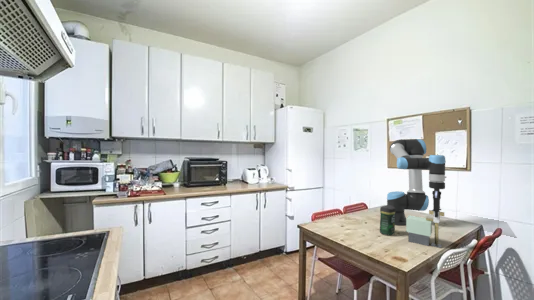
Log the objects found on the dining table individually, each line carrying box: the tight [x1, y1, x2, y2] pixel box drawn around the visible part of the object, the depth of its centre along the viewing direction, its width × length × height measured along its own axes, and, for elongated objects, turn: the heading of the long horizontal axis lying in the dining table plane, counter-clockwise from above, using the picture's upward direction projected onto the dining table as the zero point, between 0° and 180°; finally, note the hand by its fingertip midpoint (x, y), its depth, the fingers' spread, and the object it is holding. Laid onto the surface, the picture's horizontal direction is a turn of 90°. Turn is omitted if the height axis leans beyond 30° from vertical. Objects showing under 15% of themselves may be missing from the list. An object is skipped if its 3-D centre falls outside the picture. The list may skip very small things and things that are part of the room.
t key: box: [425, 209, 445, 245], centre depth 133 cm, size 8×2×19 cm, turn 50°
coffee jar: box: [379, 204, 396, 236], centre depth 152 cm, size 10×8×19 cm
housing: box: [407, 232, 442, 249], centre depth 136 cm, size 16×7×6 cm, turn 50°
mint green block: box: [405, 214, 433, 237], centre depth 138 cm, size 12×9×8 cm
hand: (436, 221), depth 133 cm, fingers closed on t key, 2 cm apart
